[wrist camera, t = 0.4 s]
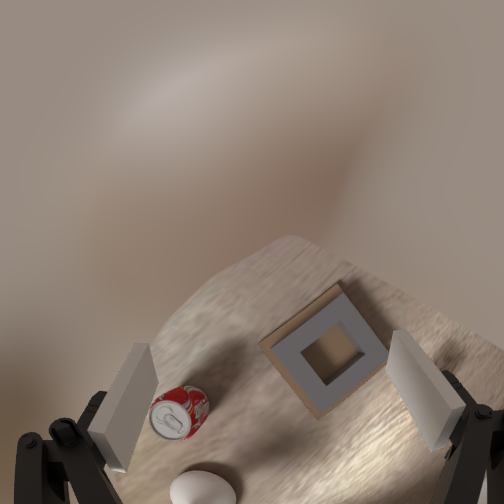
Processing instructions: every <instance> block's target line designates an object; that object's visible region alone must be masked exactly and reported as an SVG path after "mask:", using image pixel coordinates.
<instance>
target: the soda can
mask: <svg viewBox="0 0 504 504" xmlns="http://www.w3.org/2000/svg"><path fill="white" fill-rule="evenodd" d="M209 409H210V404H209V400H208V398H207V396H206V395H205V393H204V392H203V391H202V390H200V389H199V388H197V387H194V386H180V387H177V388H175V389H172V390H170V391H168V392H166V393H164V394H163V395H161V396H160V397H158V398H157V399H156V400H155V401H154V402H153V403H152V405H151V407H150V411H149V423H150V426H151V428H152V429H153V431H154V432H155V433H156V434H157V435H158V436H159V437H161V438H163V439H165V440H169V441H182V440H185V439H188V438H190V437H191V436H192V435H193V434H194V433H195V432H196V431H197V430H198V429H199V428H200V426H201V425H202V424H203V423H204V421H205V420H206V418H207V416H208V413H209Z"/></svg>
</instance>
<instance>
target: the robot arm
mask: <svg viewBox="0 0 504 504" xmlns="http://www.w3.org/2000/svg"><path fill="white" fill-rule="evenodd" d="M386 372H387V374H388V376H389V377H390V379H391V381H392V382H393V384H394V386H395V388H396V389H397V391H398V393H399V395H400V396H401V398H402V400H403V402H404V403H405V405H406V407H407V409H408V410H409V412H410V414H411V416H412V418H413V419H414V421H415V423H416V425H417V427H418V429H419V430H420V432H421V434H422V436H423V438H424V440H425V442H426V443H427V445H428V447H429V449H430V451H431V452H432V451H435V450H438V449H441V448H443V447H445V445H446V444H447V442H448V440H449V439H450V441H451V442H452V446H451V447H450V449H449V451H448V453H447V454H446V456H445V457H444V458H445V459H446V458H447V459H446V462H445V465H444V468H443V471H442V474H441V477H440V479H439V482H438V485H437V487H436V490H435V492H434V495H433V497H432V499H431V502H430V504H478V500H479V496H480V493H481V489H482V485H483V481H484V477H485V472H486V471H487V504H504V410H498V411H493V410H492V409H491V408H490V407H489V406H487V405H484V404H477V403H476V402H475V400H474V399H473V398H472V397H471V395H470V394H469V393H468V392H467V390H466V389H465V388H463V385H462V384H461V383H459V380H458V379H457V378H456V377H455V376H454V375H453V374H452V373H450V372H449V371H447V370H444V371H440V370H439V369H438V368H437V367H436V365H435V364H434V363H433V362H432V360H431V359H430V358H429V357H428V355H427V354H426V353H425V352H424V351H423V349H422V348H421V347H420V346H419V345H418V343H417V342H416V341H415V340H414V338H413V337H412V336H411V335H410V334H409V333H408V331H407V330H406V329H401V330H394V331H393V336H392V341H391V346H390V351H389V356H388V361H387V365H386ZM157 386H158V379H157V375H156V371H155V367H154V363H153V359H152V355H151V351H150V347H149V344H148V343H135V345H134V347H133V348H132V350H131V352H130V353H129V355H128V357H127V359H126V360H125V362H124V364H123V366H122V367H121V369H120V371H119V373H118V374H117V376H116V378H115V380H114V382H113V384H112V385H111V387H110V389H109V391H108V392H105V391H99V392H98V393H96V394H95V395H94V396H93V397H92V398H91V400H90V401H89V403H88V406H87V407H86V408H85V411H84V412H83V413H82V415H81V417H80V419H79V420H78V422H77V424H76V423H75V421H74V420H72V419H70V418H60V419H58V420H55V421H54V422H53V423H52V424H51V425H50V427H49V434H50V435H51V437H52V438H53V440H43V439H42V438H41V436H40V435H39V434H37V433H35V432H29V433H26V434H24V435H22V436H21V438H20V439H19V441H18V446H17V455H16V466H15V483H14V504H70V500H69V491H68V481H70V483H71V486H72V488H73V491H74V493H75V496H76V498H77V500H78V503H79V504H123V503H122V501H121V499H120V498H119V496H118V494H117V492H116V491H115V489H114V487H113V485H112V484H111V482H110V480H109V478H108V476H107V474H106V472H105V471H104V466H105V464H106V463H107V465H108V467H109V468H110V470H114V471H119V472H124V473H126V472H127V469H128V466H129V463H130V460H131V457H132V455H133V452H134V449H135V446H136V443H137V440H138V437H139V435H140V432H141V429H142V426H143V424H144V421H145V418H146V415H147V413H148V410H149V407H150V405H151V402H152V399H153V396H154V394H155V391H156V388H157Z"/></svg>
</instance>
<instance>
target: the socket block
mask: <svg viewBox="0 0 504 504" xmlns="http://www.w3.org/2000/svg"><path fill="white" fill-rule="evenodd" d="M258 345H259V346H260V348H261V349H262V350H263V352H264V353H265V354H266V356H267V357H268V358H269V360H270V361H271V362H272V364H273V365H274V366H275V368H276V369H277V370H278V371H279V373H280V374H281V375H282V377H283V378H284V379H285V380H286V382H287V383H288V384H289V386H290V387H291V388H292V389H293V391H294V392H295V393H296V394H297V396H298V397H299V398H300V399H301V401H302V402H303V403H304V405H305V406H306V407H307V408H308V409H309V411H310V412H311V413H312V414H313V416H314V417H315V418H316V419H317V420H319V419H320V418H322V417H323V416H324V415H326V414H327V413H328V412H330V411H331V410H332V409H333V408H335V407H336V406H337V405H339V404H340V403H341V402H342V401H344V400H345V399H346V398H347V397H349V396H350V395H351V394H352V393H354V392H355V391H356V390H357V389H358V388H360V387H361V386H362V385H363V384H364V383H365V382H367V381H368V380H369V379H370V378H371V377H372V376H374V375H375V374H376V373H377V372H378V371H379V370H380V369H381V368H383V367H384V366H385V365H386V364H387V361H388V356H389V351H388V350H387V348H386V347H385V346H384V344H383V343H382V341H381V340H380V339H379V337H378V336H377V335H376V333H375V332H374V331H373V329H372V328H371V327H370V325H369V324H368V323H367V321H366V320H365V319H364V317H363V316H362V315H361V313H360V312H359V311H358V309H357V308H356V307H355V306H354V304H353V303H352V302H351V300H350V299H349V298H348V296H347V295H346V294H345V293H344V291H343V290H342V289H341V287H340V286H339V285H338V284H336V285H334V286H333V287H332V288H331V289H329V290H328V291H327V292H326V293H324V294H323V295H322V296H321V297H319V298H318V299H317V300H315V301H314V302H313V303H312V304H310V305H309V306H308V307H306V308H305V309H304V310H303V311H301V312H300V313H299V314H297V315H296V316H295V317H293V318H292V319H291V320H290V321H288V322H287V323H286V324H284V325H283V326H282V327H280V328H279V329H277V330H276V331H275V332H273V333H272V334H271V335H269V336H268V337H267V338H265V339H264V340H262V341H261V342H260V343H258Z"/></svg>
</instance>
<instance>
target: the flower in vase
mask: <svg viewBox="0 0 504 504" xmlns="http://www.w3.org/2000/svg"><path fill="white" fill-rule="evenodd" d="M170 496H171V500H172V502H173V504H236V495H235V492H234V490H233V488H232V487H231V486H230V484H229V483H228V482H227V481H225V480H224V479H223V478H221V477H220V476H218V475H215V474H213V473H210V472H206V471H188V472H185V473H182V474H180V475H179V476H177V477H176V478H175V479H174V480H173V482H172V484H171V486H170Z"/></svg>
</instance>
